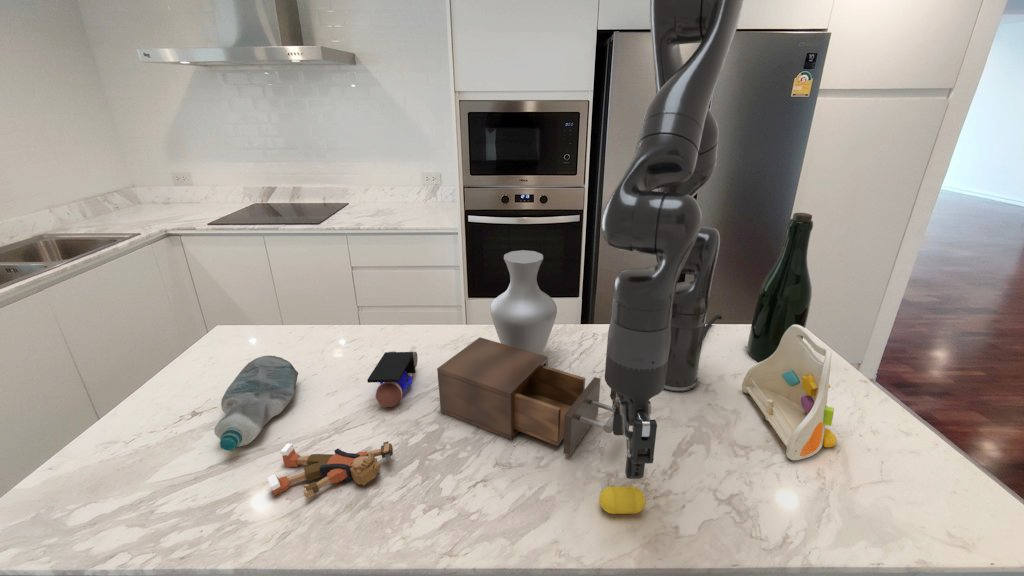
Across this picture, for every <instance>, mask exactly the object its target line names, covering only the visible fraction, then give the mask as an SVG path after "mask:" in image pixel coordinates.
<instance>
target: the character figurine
mask: <svg viewBox="0 0 1024 576" xmlns="http://www.w3.org/2000/svg"><path fill="white" fill-rule="evenodd" d="M333 453H334V454H331V453H330V454H329V453H311V454H310V455H309V454H308V455H302V456H301V455H300V454H299V453H296V450H295V447H294V444H293V443H286V444H285V446H284V447H283V448H282V449H281V450H280V454H281V456H282V461H283V463H284V466H285V467H286V468H287V467H288V468H289V467H291V468H297V467H299V466H300V465H303V466H304V465H305V466H306V467H304V468H303V469H304V470H303V471H302V472H300V473H297V474H294V475H292V476H289V477H288V476H281V477H278V476H277V475H276V473H273V474H272V475H269V476H268V477H267V481H268V484H269V486H270V488H271V490H272V493H273V496H277V495H279V494H281V493H283V492H285V491H288V490H289V489H290V487H291V485H292V484H296V483H299V482H301V481H305V480H306V481H307V482H309V481H313V480H314V481H313V482H311V483H309V484H308V483H305V484H303V488H304V490H303V491H302V493H303V496H304V497H305V498H306V499H310V498H311V497H312V496H314V495H316V494H317V493H319V492H320V489H323V488H324V487H326V486H327V485H329V484H331V485H333V484H338V483H339V482H342V481H344V482H348V481H350V480H351V479H352V480H353V481H354V482H355V483H356V484H357V485H362V486H365V485H367V484H369V483H370V482H371V481H372V480H374V479H375V478H376V477H377V475H378V474H379V473H380V472H381V465H380V462H378V458H377V457H379V456H381V458H382V459H384V460H385V462H389V461H391V460H392V456H394V448H393V444H392V443H390V442H389V441H385V442H382V445H380V448H378V449H374V450H370V451H365V450H364V451H358V452H355V453H354V452H353V453H352V452H347V451H343V450H341V449H340V448H336V449H334V452H333ZM321 477H322V478H321ZM319 478H321V479H319ZM316 479H319V480H318V481H315V480H316Z"/></svg>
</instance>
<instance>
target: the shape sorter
mask: <svg viewBox="0 0 1024 576" xmlns="http://www.w3.org/2000/svg"><path fill="white" fill-rule="evenodd" d="M801 336H802V337H803V340H802V339H801ZM804 340H805V341H806V342H807V343H808V344H809V345H808V344H807V343H806V342H805V341H804ZM809 346H810V347H811V348H812V349H813V350H814V351H815V352H816V353H818V355H821V356H823V357H824V360H823V361H822V360H820V359H819V358H818V357H817V356H816V355H815V353H814V352H813V350H812V349H811V348H810V347H809ZM831 364H832V350H831V349H830V348H828V347H827V346H825V345H823V344H822V343H820V342H819V341H818V339H817V338H816V337H815V336H814V335H813V334H812V333H811V332H810V331H809V330H808V329H807V328H806V327H805V328H804V327H802V326H800V325H792V326H791V327H789V328H788V329H787V331H786V332H785V333H784V335H783V337H782V339H781V341H780V344H779V346H778V348H777V350H776V351H775V352H774V353H773V354H772V355H771V356H770V357H769V358H767V359H766V360H764V361H762V362H761V361H759V362H758V363H757V362H756V364H754V365H753V366H752V367H750V368H749V369H748V371H747V372H746V373H745V375H744V377H743V379H742V383H741V389H742V392H743V393H745V394H747V395H750V397H751V398H752V400H753V401H754V402H755V403H756V405H757V407H758V408H759V410H760V411H761V412H762V415H764V419H765V421H767V422H768V424H770V426H771V427H772V429H773V430H774V431H775V433H776V434H777V435H778V437H779V438H780V440H781V442H782V443H783V445H784V446H785V447H786V450H785V455H786V457H787V458H788V459H789V460H790V461H799V460H804V459H807V458H810V457H812V456H814V455H816V454H817V453H818V452H819V451H820V450H821V449H822V448H823V447H825V448H832V447H834V446H836V444H837V436H836V434H835V433H834V432H833V431H832V430H830V429H829V428H826V426H829V427H832V425H833V419H834V413H835V408H834V407H832V406H827V404H828V395H829V388H831V384H830V383H829V382H830V374H831Z"/></svg>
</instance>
